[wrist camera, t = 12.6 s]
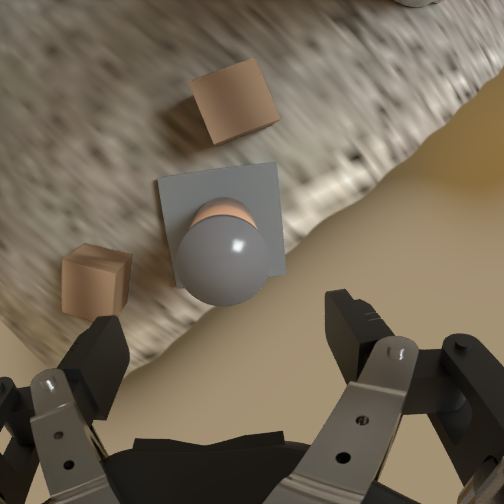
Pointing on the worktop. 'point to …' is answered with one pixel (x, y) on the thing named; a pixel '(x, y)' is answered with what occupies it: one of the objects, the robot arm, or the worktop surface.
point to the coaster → (232, 186)
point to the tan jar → (223, 254)
